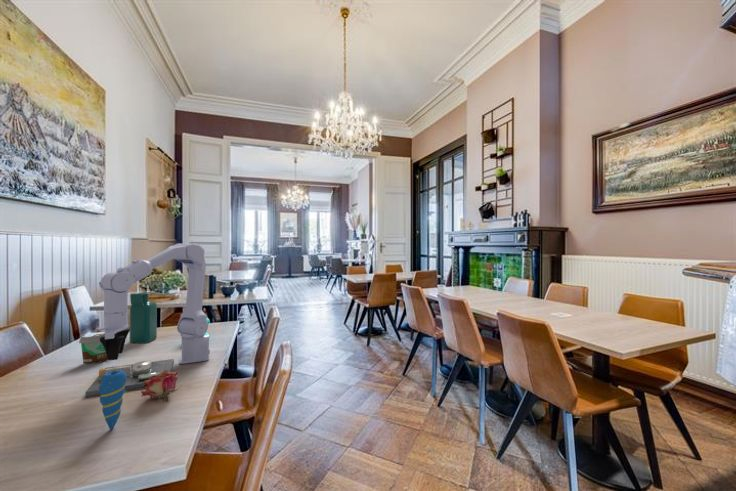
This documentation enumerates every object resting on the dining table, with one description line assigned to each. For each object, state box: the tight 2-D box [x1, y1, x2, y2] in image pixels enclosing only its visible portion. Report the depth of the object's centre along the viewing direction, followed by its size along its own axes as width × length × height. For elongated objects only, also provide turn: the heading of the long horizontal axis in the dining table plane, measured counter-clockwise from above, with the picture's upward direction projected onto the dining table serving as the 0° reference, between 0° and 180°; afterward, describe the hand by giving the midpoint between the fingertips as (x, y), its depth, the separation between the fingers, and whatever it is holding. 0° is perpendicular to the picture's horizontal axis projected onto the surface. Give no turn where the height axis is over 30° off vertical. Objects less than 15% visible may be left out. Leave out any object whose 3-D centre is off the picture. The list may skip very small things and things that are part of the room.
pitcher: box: [128, 291, 158, 344], centre depth 145 cm, size 10×8×22 cm
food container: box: [78, 332, 108, 365], centre depth 121 cm, size 12×6×10 cm, turn 168°
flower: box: [140, 370, 183, 402], centre depth 91 cm, size 10×9×8 cm
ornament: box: [98, 365, 127, 430], centre depth 76 cm, size 5×5×15 cm
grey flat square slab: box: [84, 358, 175, 398], centre depth 105 cm, size 20×20×3 cm
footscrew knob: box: [98, 360, 153, 379], centre depth 103 cm, size 14×5×3 cm, turn 117°
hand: (115, 356), depth 98 cm, fingers open, 5 cm apart
